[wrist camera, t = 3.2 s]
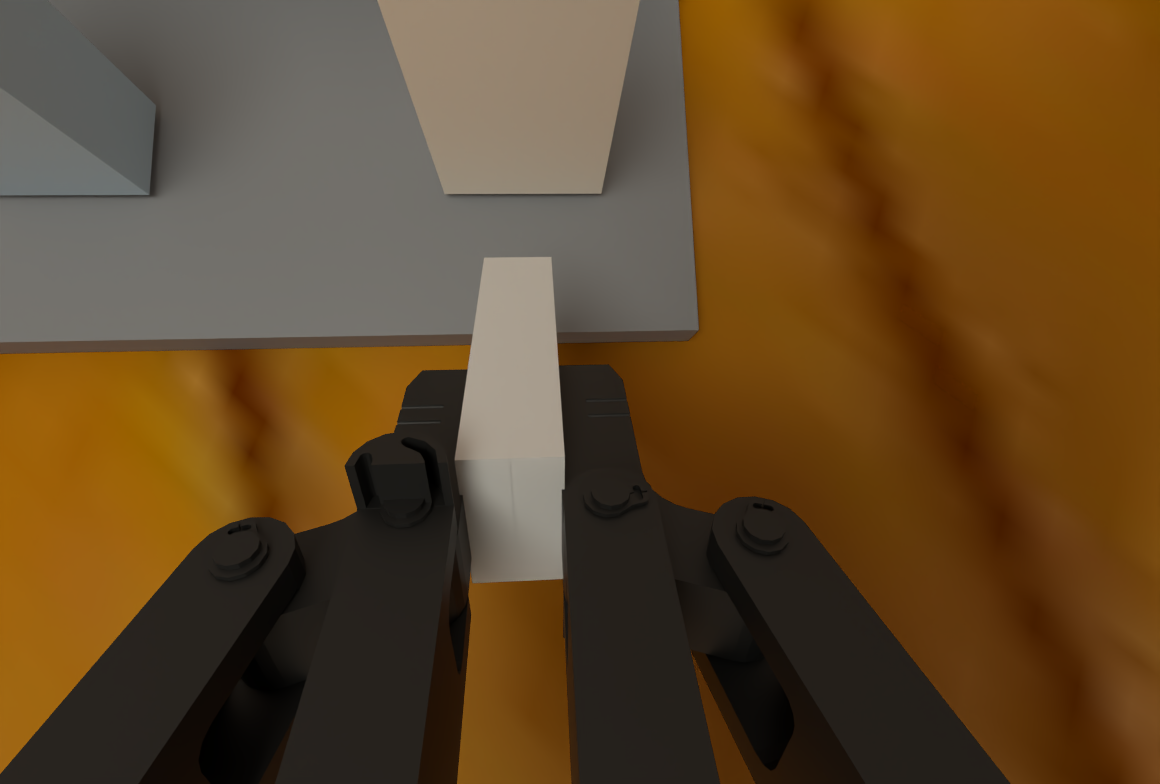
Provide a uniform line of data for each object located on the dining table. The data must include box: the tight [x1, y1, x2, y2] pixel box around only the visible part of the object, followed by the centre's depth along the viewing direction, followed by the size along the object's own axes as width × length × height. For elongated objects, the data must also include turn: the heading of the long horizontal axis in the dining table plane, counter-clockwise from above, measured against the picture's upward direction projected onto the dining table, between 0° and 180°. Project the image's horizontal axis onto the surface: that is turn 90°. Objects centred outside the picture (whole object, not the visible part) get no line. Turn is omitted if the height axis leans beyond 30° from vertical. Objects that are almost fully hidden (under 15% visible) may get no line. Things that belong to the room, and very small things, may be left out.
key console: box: [0, 0, 699, 354], centre depth 19 cm, size 25×16×5 cm, turn 92°
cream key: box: [377, 0, 640, 194], centre depth 14 cm, size 5×3×11 cm, turn 92°
